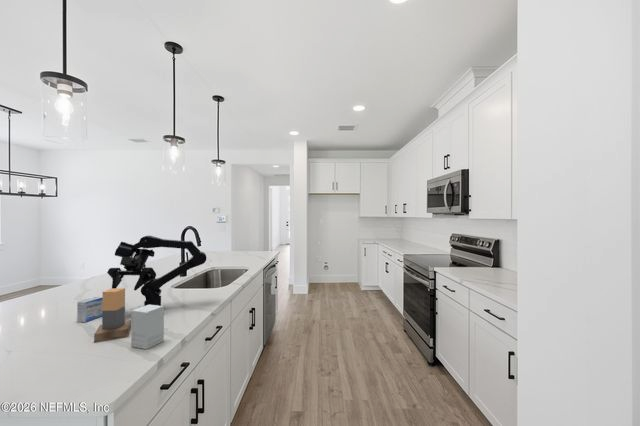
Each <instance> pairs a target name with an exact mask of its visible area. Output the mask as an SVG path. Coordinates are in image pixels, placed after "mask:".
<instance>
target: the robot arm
mask: <svg viewBox="0 0 640 426" xmlns="http://www.w3.org/2000/svg"><path fill="white" fill-rule="evenodd" d="M155 248H171V249H185V250H187V251H188V252H189V253H190V255H191V256H192V257H190V258H189V259H188V260H187V261H185V262H184V263H181V264H180V265H179V266H177V267H175V268H174V269H172V270H170V271H169V272H167V273H165V274H163V275H162V276H160V277H157V273H156V271H155V270H154V268H153V267H150V266H148V267H146V266H147V265H146V263H147V261H148V258H149V257H152V258H154V256H155V251H154V250H153V249H155ZM114 256H115V257H120V258H121V260H120V263H119V265H120V266H123V269H124V270H122V269H121V268H120V267H110V268H108V270H107V272H106V273H107V274H108V275H109V277H110V278H111V279H112V281H111V289H112V288H117V287H118V286H119V285H120V284H121V282H122V281H123V278H124V277H125V276H132V277H133V276H138V279H137V282H136V283H135V285H134V287H133V291H137V290H139V289H140V293H141V295H142V296H144V298H145V300H144V303H143V306H146V305H149V304H150V305H157V306H162V295H161V293H162V289H161V287H162V286H164V285H165V284H167V283H169V282H170V281H172V280H174V279H175V278H177V277H179V276H180V275H182V274H184V273H185V272H187V271H189V270H190V269H193V268H196V267H199V266H201V265H203V264H205V263H206V262H207V254H206V253H205V252H204V251H201V250H200V249H199V248H198V246H197V245H195V244H194V242H193V241H192V240H188V241H187V240H178V239H165V238H160V237H157V236H153V235H144V236H142V237H141V238H140V239H139V240H138V242H137V243H135V244H132V243H128V242H125V241H120V243H119V245H117V248H116V249H115V252H114ZM156 277H157V278H156Z"/></svg>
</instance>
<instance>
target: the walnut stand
mask: <svg viewBox="0 0 640 426" xmlns="http://www.w3.org/2000/svg"><path fill="white" fill-rule="evenodd" d="M130 333H131V319H130V320H125V324H124V325H122V326H121V327H119V328H117V329H102V323H101V324H100V325H99V326H98V328H97V329H96V331H95V332H94V334H93V343H99V342H106V341H111V340H118V339H124V338H128V337H129V334H130Z"/></svg>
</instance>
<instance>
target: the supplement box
mask: <svg viewBox="0 0 640 426" xmlns="http://www.w3.org/2000/svg"><path fill="white" fill-rule="evenodd" d="M164 312H165V307H164V306H163V305H161V306H157V305H150V304H149V305H146V306H144V305H143V306H141V307H137V308H135V309H132V310H131V313H130V315H131V317H130V318H131V319H130V320H131V329H130V334H131V335H130V336H131V337H130V339H131V341H130V342H131V344H130V346H131V347H132V348H139V349H143V350H148V349H149V348H152V347H153V346H156V345H159V344H160V343H162V342H163V341H164V340H165V334H164V333H165V331H164V330H165V325H164V324H165V316H164V315H165V313H164Z"/></svg>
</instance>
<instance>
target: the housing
mask: <svg viewBox="0 0 640 426" xmlns="http://www.w3.org/2000/svg"><path fill="white" fill-rule="evenodd" d="M102 298H103V305H102V317H101V318H102V319H101V320H102V323H101V324H102V329H117V328H119V327H121V326H122V325H124V324H125V321H126V287H125V288H123V287H119V288H112V287H111V288H110V289H107V290H105V291H102Z"/></svg>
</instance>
